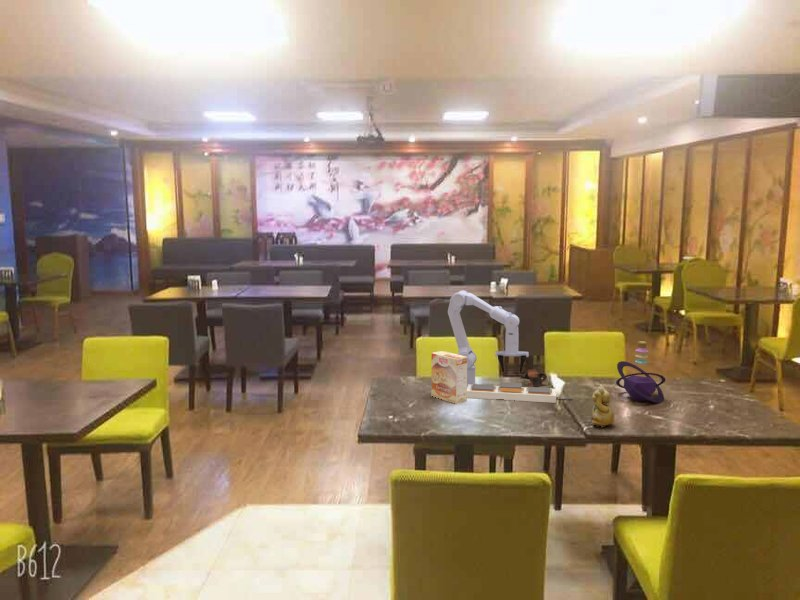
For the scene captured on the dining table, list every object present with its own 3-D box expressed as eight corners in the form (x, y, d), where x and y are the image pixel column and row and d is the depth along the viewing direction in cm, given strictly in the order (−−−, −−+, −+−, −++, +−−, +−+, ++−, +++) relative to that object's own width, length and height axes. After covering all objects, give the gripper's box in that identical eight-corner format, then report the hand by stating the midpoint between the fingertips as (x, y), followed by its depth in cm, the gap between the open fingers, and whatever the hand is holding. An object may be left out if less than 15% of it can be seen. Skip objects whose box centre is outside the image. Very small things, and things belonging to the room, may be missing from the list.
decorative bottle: (657, 410, 259) (660, 349, 255) (605, 400, 271) (608, 343, 267) (672, 397, 276) (675, 340, 273) (623, 388, 289) (625, 334, 285)
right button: (528, 395, 272) (528, 391, 272) (528, 391, 279) (528, 386, 279) (550, 397, 270) (550, 392, 270) (549, 392, 277) (550, 387, 277)
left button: (471, 392, 277) (471, 388, 277) (473, 388, 284) (473, 383, 284) (493, 394, 275) (493, 389, 275) (494, 389, 282) (494, 385, 282)
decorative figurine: (592, 419, 247) (593, 381, 245) (614, 422, 244) (616, 384, 242) (589, 427, 239) (591, 388, 236) (613, 430, 236) (614, 390, 233)
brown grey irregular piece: (522, 388, 292) (518, 371, 295) (524, 392, 300) (520, 375, 303) (548, 383, 289) (544, 365, 292) (549, 387, 298) (545, 370, 301)
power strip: (465, 397, 276) (466, 391, 275) (468, 390, 286) (468, 384, 286) (573, 403, 267) (573, 396, 267) (571, 396, 278) (571, 389, 277)
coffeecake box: (430, 396, 278) (430, 352, 275) (442, 393, 283) (442, 350, 280) (455, 404, 267) (456, 358, 264) (467, 400, 272) (467, 356, 269)
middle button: (499, 391, 274) (499, 386, 274) (500, 386, 281) (500, 382, 281) (521, 392, 273) (521, 387, 272) (521, 387, 280) (521, 383, 279)
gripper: (495, 343, 281) (495, 374, 282) (528, 344, 278) (528, 374, 280) (495, 340, 287) (495, 370, 289) (528, 341, 285) (528, 370, 287)
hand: (511, 372), depth 285 cm, fingers open, 7 cm apart
